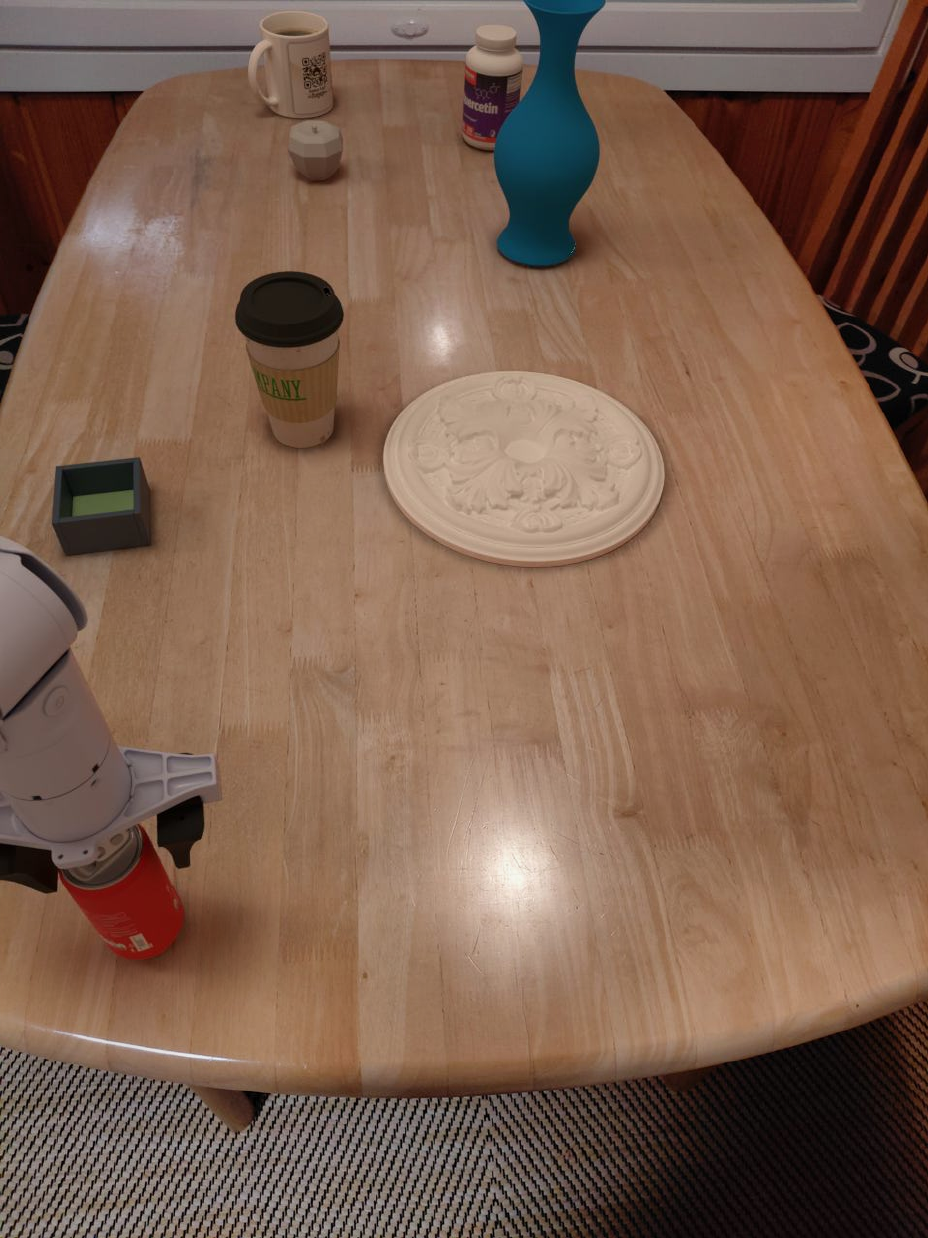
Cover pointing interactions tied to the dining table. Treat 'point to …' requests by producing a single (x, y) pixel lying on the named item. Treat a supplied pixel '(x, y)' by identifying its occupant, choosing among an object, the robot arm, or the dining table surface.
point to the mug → (294, 64)
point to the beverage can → (127, 895)
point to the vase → (548, 142)
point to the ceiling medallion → (523, 468)
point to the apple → (315, 148)
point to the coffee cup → (293, 352)
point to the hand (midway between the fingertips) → (118, 865)
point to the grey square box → (101, 506)
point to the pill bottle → (490, 84)
